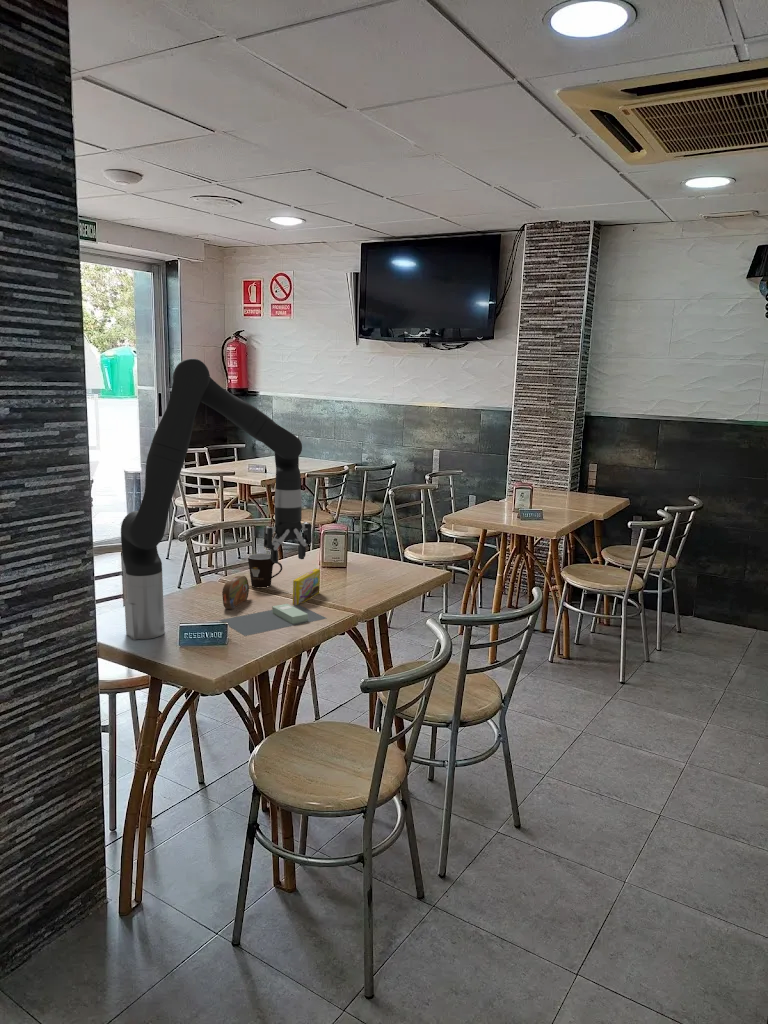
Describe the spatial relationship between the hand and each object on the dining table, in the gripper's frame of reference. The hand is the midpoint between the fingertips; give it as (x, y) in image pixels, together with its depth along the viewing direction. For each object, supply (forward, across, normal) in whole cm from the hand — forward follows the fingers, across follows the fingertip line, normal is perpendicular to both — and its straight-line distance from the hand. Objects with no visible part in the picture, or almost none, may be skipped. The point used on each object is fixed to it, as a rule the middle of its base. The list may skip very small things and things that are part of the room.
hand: (288, 560), depth 208 cm
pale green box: (+15, 0, +7) cm, 17 cm away
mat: (+17, +5, 0) cm, 18 cm away
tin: (+18, +7, -20) cm, 28 cm away
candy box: (+17, -14, -13) cm, 26 cm away
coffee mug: (+17, -10, -34) cm, 40 cm away
